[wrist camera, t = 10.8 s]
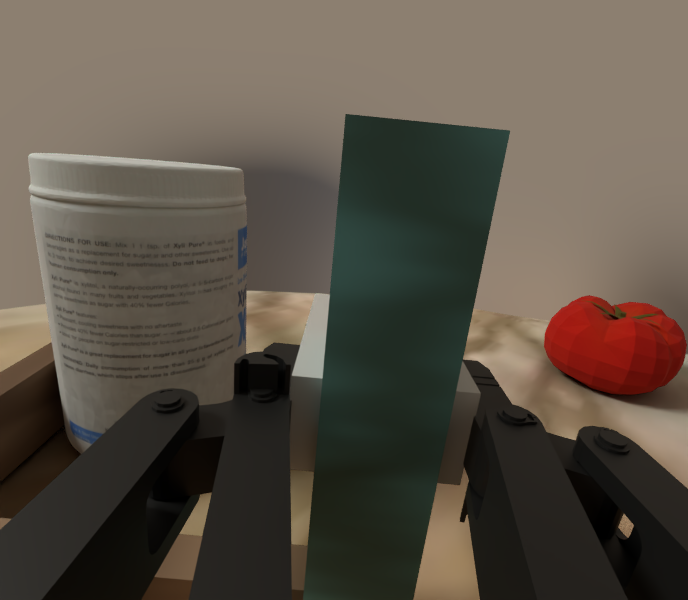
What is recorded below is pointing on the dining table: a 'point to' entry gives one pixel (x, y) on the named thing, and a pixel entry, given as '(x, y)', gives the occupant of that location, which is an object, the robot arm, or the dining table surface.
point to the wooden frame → (358, 359)
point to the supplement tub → (139, 281)
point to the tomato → (615, 345)
